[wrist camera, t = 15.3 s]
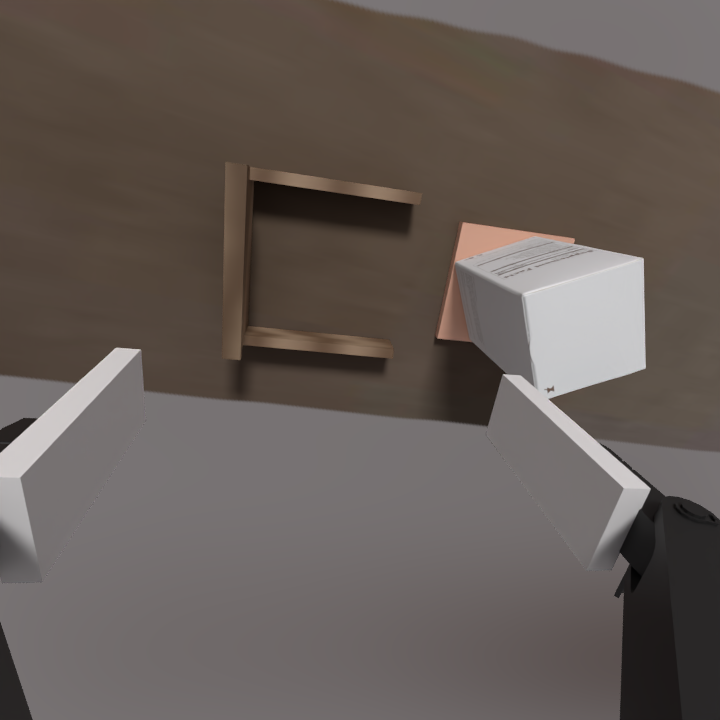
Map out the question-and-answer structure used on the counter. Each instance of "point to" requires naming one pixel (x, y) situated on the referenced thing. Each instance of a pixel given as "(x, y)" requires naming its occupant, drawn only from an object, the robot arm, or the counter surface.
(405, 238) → the counter surface
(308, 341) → the wooden u-shaped frame
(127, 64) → the counter surface
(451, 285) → the terracotta tile
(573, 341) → the supplement box
